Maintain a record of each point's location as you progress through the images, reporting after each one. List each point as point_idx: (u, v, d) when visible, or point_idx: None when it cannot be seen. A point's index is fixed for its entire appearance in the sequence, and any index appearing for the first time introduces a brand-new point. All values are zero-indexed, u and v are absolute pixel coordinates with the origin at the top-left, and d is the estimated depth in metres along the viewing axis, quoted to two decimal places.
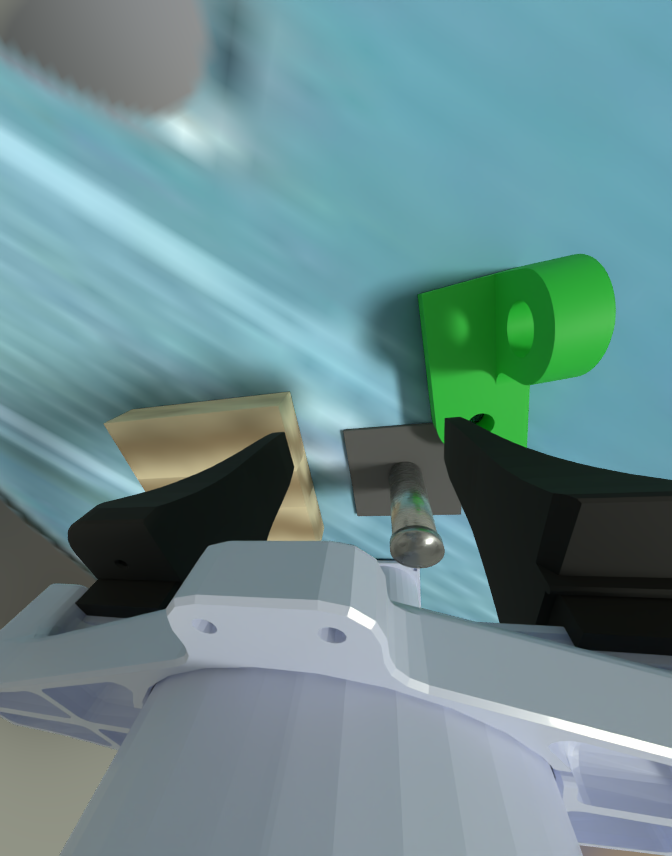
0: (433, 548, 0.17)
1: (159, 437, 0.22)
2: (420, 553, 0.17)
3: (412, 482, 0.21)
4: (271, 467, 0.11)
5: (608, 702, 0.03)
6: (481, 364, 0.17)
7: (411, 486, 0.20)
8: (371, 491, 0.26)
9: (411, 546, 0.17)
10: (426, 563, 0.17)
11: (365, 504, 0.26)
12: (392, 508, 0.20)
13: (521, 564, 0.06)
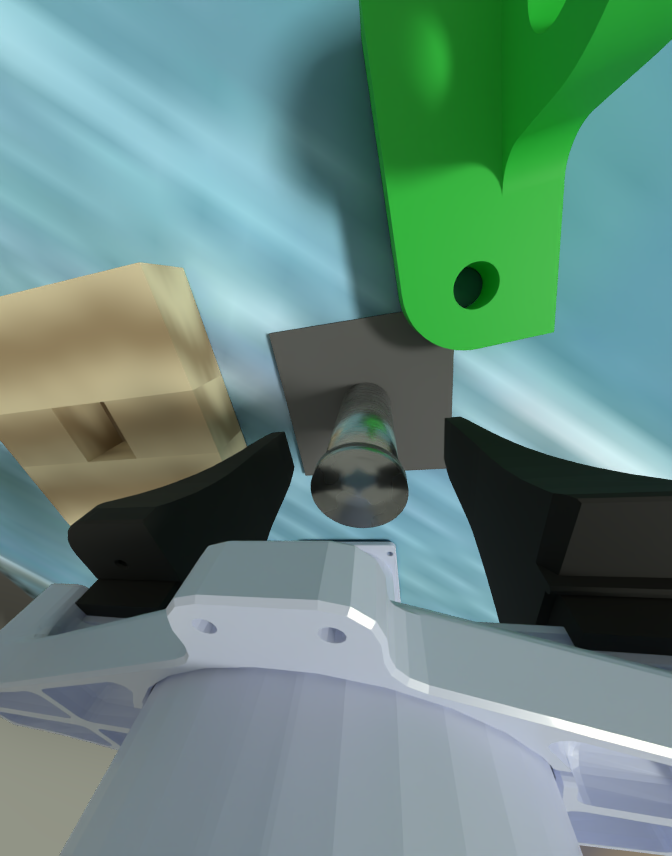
0: (387, 484, 0.09)
1: None
2: (365, 496, 0.09)
3: (368, 400, 0.13)
4: (271, 467, 0.11)
5: (608, 702, 0.03)
6: (475, 149, 0.09)
7: (365, 403, 0.13)
8: (320, 435, 0.18)
9: (347, 482, 0.09)
10: (377, 517, 0.10)
11: (314, 456, 0.19)
12: (331, 435, 0.12)
13: (521, 564, 0.06)
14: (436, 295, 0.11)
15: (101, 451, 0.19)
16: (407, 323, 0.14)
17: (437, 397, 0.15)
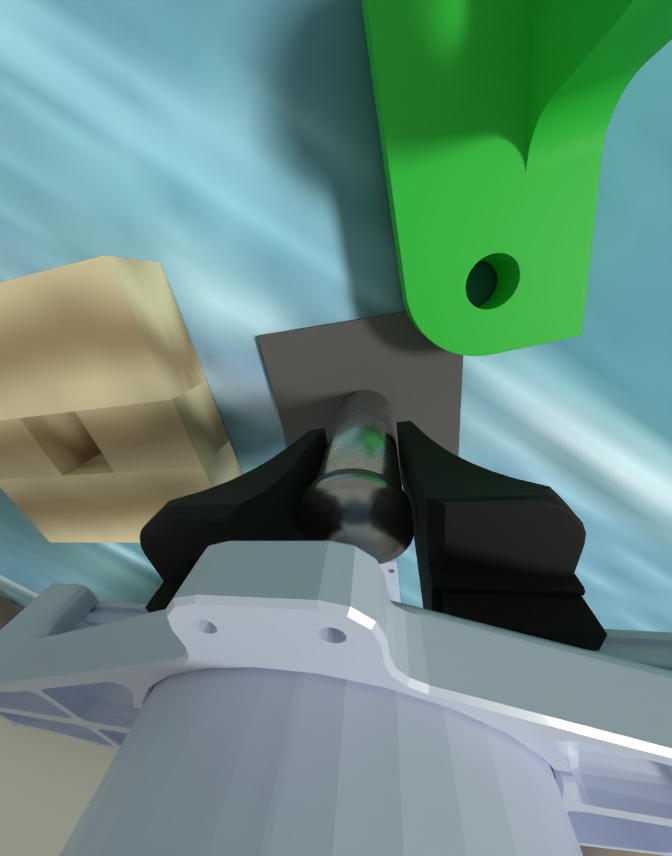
0: (390, 519, 0.07)
1: None
2: (362, 532, 0.08)
3: (367, 411, 0.12)
4: (316, 464, 0.10)
5: (608, 702, 0.03)
6: (495, 117, 0.08)
7: (364, 416, 0.11)
8: None
9: (341, 516, 0.08)
10: (377, 555, 0.08)
11: None
12: (325, 453, 0.11)
13: (425, 562, 0.06)
14: (446, 292, 0.10)
15: (79, 463, 0.17)
16: (411, 324, 0.12)
17: (444, 406, 0.14)
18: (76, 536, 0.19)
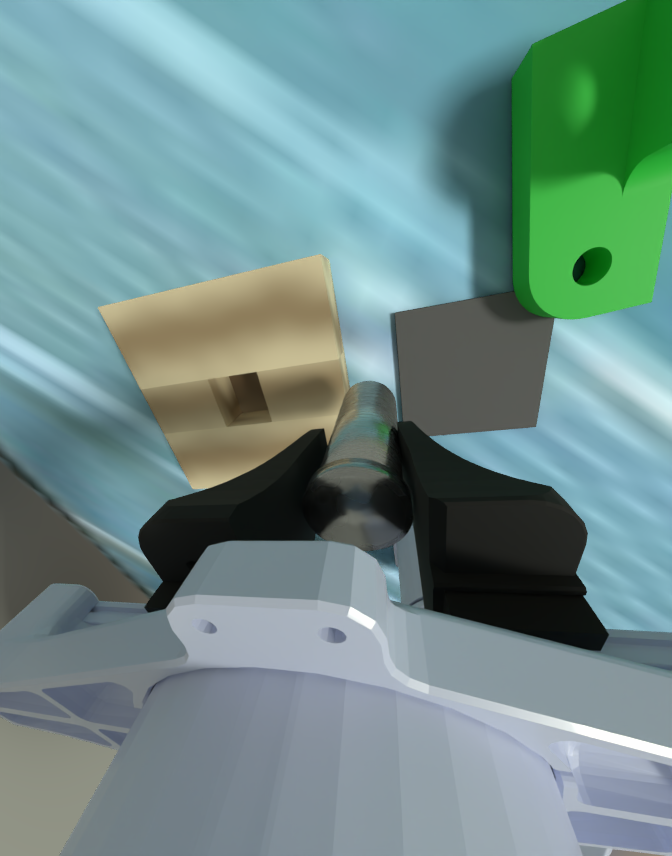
0: (389, 506, 0.08)
1: (166, 322, 0.18)
2: (363, 519, 0.08)
3: (370, 402, 0.12)
4: (315, 464, 0.10)
5: (608, 702, 0.03)
6: (605, 162, 0.12)
7: (366, 407, 0.11)
8: (424, 401, 0.21)
9: (342, 503, 0.08)
10: (378, 540, 0.09)
11: (415, 420, 0.22)
12: (328, 443, 0.11)
13: (426, 563, 0.06)
14: (558, 274, 0.15)
15: (232, 419, 0.22)
16: (517, 301, 0.17)
17: (533, 363, 0.19)
18: (218, 482, 0.24)
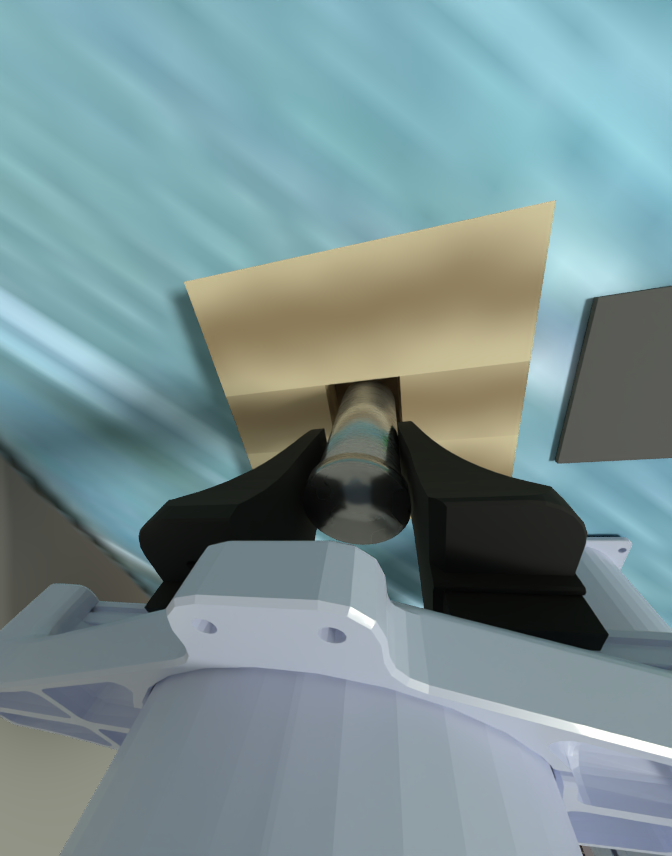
0: (387, 499, 0.08)
1: (282, 305, 0.13)
2: (362, 512, 0.08)
3: (369, 400, 0.12)
4: (316, 464, 0.10)
5: (608, 702, 0.03)
6: None
7: (365, 404, 0.11)
8: (602, 417, 0.16)
9: (342, 497, 0.08)
10: (377, 534, 0.09)
11: (580, 442, 0.17)
12: (328, 440, 0.11)
13: (426, 562, 0.06)
14: None
15: None
16: None
17: None
18: None
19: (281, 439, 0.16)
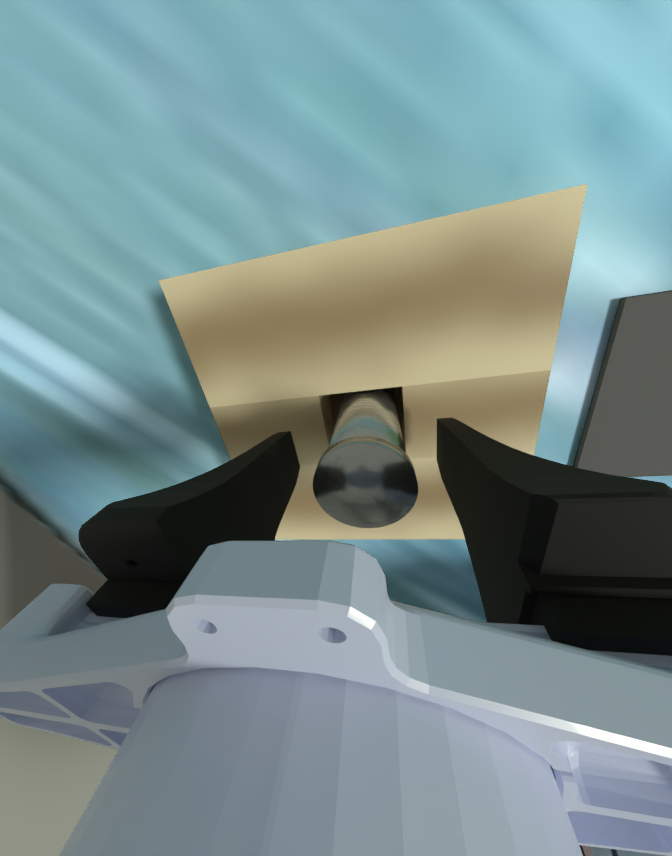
0: (396, 480, 0.08)
1: (270, 306, 0.11)
2: (371, 494, 0.09)
3: (371, 393, 0.12)
4: (278, 466, 0.11)
5: (608, 702, 0.03)
6: None
7: (368, 397, 0.12)
8: (625, 430, 0.14)
9: (351, 479, 0.08)
10: (385, 516, 0.09)
11: (600, 456, 0.15)
12: (333, 431, 0.11)
13: (505, 564, 0.06)
14: None
15: None
16: None
17: None
18: (302, 532, 0.18)
19: None
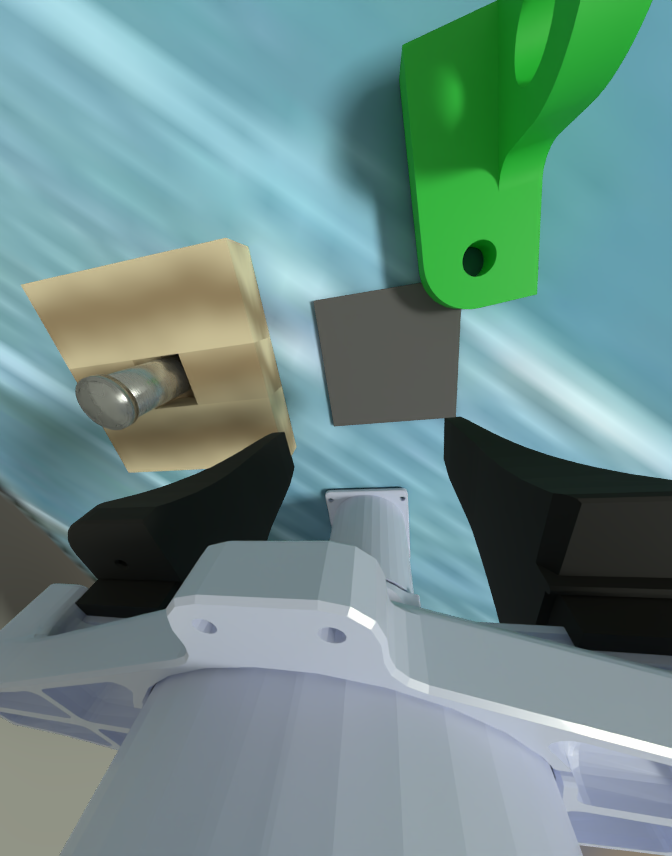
0: (114, 397, 0.15)
1: (88, 301, 0.18)
2: (108, 407, 0.16)
3: (160, 359, 0.19)
4: (271, 467, 0.11)
5: (608, 702, 0.03)
6: (480, 158, 0.13)
7: (153, 361, 0.19)
8: (349, 389, 0.21)
9: (94, 398, 0.16)
10: (121, 421, 0.16)
11: (342, 408, 0.22)
12: None
13: (521, 564, 0.06)
14: (450, 265, 0.15)
15: None
16: (424, 292, 0.18)
17: (446, 354, 0.19)
18: (153, 465, 0.24)
19: None
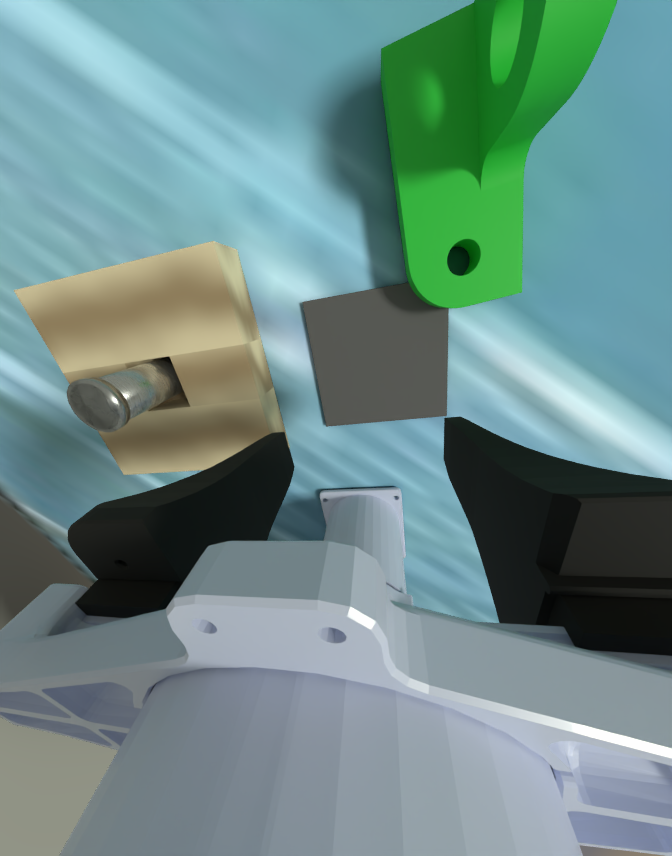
0: (105, 399, 0.15)
1: (79, 306, 0.19)
2: (99, 409, 0.16)
3: (151, 362, 0.20)
4: (271, 467, 0.11)
5: (608, 702, 0.03)
6: (461, 158, 0.13)
7: (144, 363, 0.19)
8: (340, 389, 0.22)
9: (86, 401, 0.16)
10: (113, 423, 0.16)
11: (334, 408, 0.22)
12: None
13: (521, 564, 0.06)
14: (434, 265, 0.15)
15: None
16: (412, 291, 0.18)
17: (436, 353, 0.19)
18: (147, 467, 0.25)
19: None
